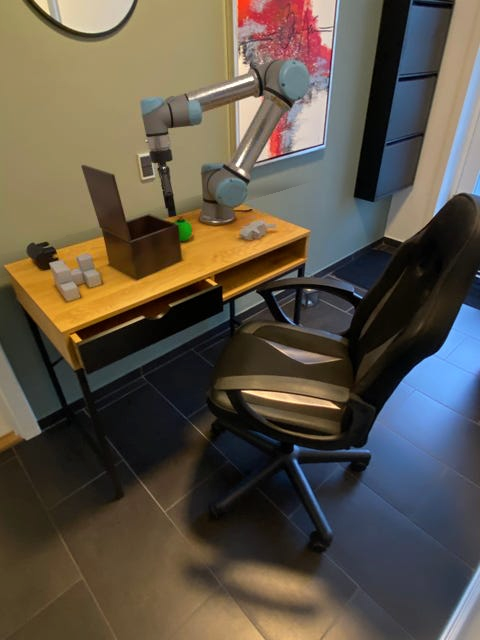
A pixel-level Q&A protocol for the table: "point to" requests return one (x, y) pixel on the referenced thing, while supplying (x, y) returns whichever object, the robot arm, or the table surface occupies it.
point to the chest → (144, 246)
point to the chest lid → (106, 201)
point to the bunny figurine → (255, 230)
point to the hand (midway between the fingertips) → (170, 212)
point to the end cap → (42, 254)
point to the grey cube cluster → (75, 276)
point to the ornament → (184, 229)
